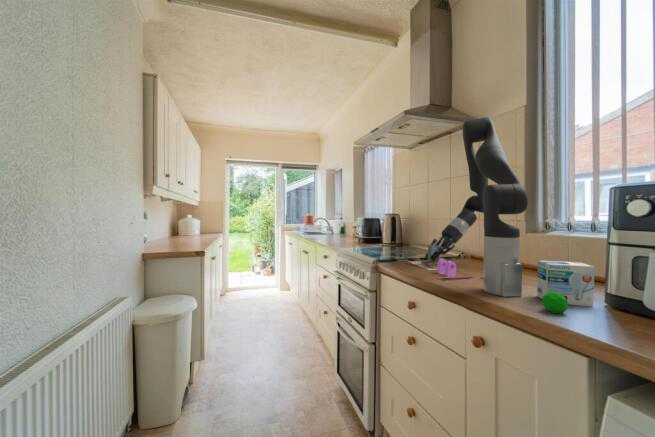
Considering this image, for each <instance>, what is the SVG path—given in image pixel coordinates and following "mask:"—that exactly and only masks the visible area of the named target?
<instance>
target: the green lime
mask: <svg viewBox="0 0 655 437" xmlns="http://www.w3.org/2000/svg"><path fill="white" fill-rule="evenodd" d="M541 303H542V305H543V307H544V308H545V310H546V311H549V312H551V313H552V312H553V314H562V313H565V312H566V311H567V310H568V308H569V304H568V302H567V300H566V298H565V297H564V296H563V295H561V294H560V293H556V292H549V293H546V294H545V295H544V296H543V298H542V299H541Z"/></svg>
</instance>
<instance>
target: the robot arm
mask: <svg viewBox="0 0 655 437" xmlns="http://www.w3.org/2000/svg"><path fill="white" fill-rule="evenodd" d="M499 139H500V138H499V136H498V133H497V130H496V127H495V124H494V121H493V119H492V118H491V117H490V116H489V117H488V116H486V117H480V118H475V119H469V120H466V121H464V122H463V125H462V140H463V145H464V151H465V157H466V162H467V168H468V176H469V189H470V191H471V192H474V193H475V194H476V195H475V194H474V195H472V196H470V197H469V198H468V199H466V201H465V203H464V204H463V207H462V210H461V211H460V213H458V214H457V216H456V217H455V218H454V219H452V220H451V221H450V222H449V223H448V224H447V226H445V228H444V229H443V230H442V231H441V236H440V237H439V238H438V239H436V238H434V239H433V240H432V242H431V243H430V245H436V246H438V247H439V248H438V249H437V250H436V251H437V252H436V251H435V252H434V253H433V254H432V255H431V257H430V259H431V260H432V261H435V260H436V258H437V257H438V256H439V257H440V256H441V255H442V256H445V255H447V253H449V252H450V251H451V250H453V249H454V248H455V247H456V245H455V244H457V243H458V242H459V241H460V240H461V239H462V238H463V237H464V235H465V234H466V233H467V232H468V230H469V229H470V228H472V226H473V224H475V222H476V221H477V219H478V217H477V215H476V213H475V212H477V213H483V230H484V232H483V234H484V235H483V237H484V238H483V278H482V279H483V282H482V283H483V291H484V293H488V294H492V295H495V296H496V295H497V296H501V297H506V298H507V297H520V296H522V294H523V293H522V292H523V291H522V290H523V289H522V288H523V263H520V246H521V245H520V242H521V240H520V238H521V237H520V236H521V229H520V228H519V227H518V226H514V225H511V224H508V223H507V222H504V221H503V220H501V219H500V215H519V214H522V213H524V212H525V211H526V210H527V208H528V203H529V198H528V193H527V190H526V189H525V186H524V185H523V183H522V182H521V180H520V178H519V177H518V175H517V174H516V173H515V171H514V169H513V167H512V165H511V163H510V161H509V158H508V156H507V153H506V152H505V149H504V148H503V145H502V144H501V141H500V140H499ZM479 142H483V143H482V144H481V145H480V146H479V147H478V149H477V151H476V152H475V149H474V145H473V144H474V143H475V144H476V143H479ZM489 180H490V181H492V182H494V184H489ZM424 257H425V258H426V260H428V252H427V253H426V254H425V255H424Z"/></svg>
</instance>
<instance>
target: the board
mask: <svg viewBox="0 0 655 437" xmlns="http://www.w3.org/2000/svg"><path fill="white" fill-rule="evenodd" d="M407 262H408V263H410V264H413V265H415V266H417V267H420V268H422V269H426V270H428V271H437V269H432V268H429V267H426V266H423V265H421V260H411V261H410V260H407Z"/></svg>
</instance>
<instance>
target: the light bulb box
mask: <svg viewBox="0 0 655 437" xmlns="http://www.w3.org/2000/svg"><path fill="white" fill-rule="evenodd" d="M595 269H596V268H595V266H593V265H590V264H587V263H584V262H580V261H578V262H577V261H560V260H559V261H557V260H556V261H555V260H539V259H538V260H537V278H536V279H537V280H536V282H537V283H536V287H537V288H536V296H537V297H538V298H540V299H541V300H542V298H543V296H544V295H545V294H546V293H549V292H556V293H560V294H561V295H563V296H564V297H565V298H566V300H567V302H568V306H570V305H571V306H581V307H590V306H593V307H594V294H595V293H594V292H595V271H596V270H595Z"/></svg>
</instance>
